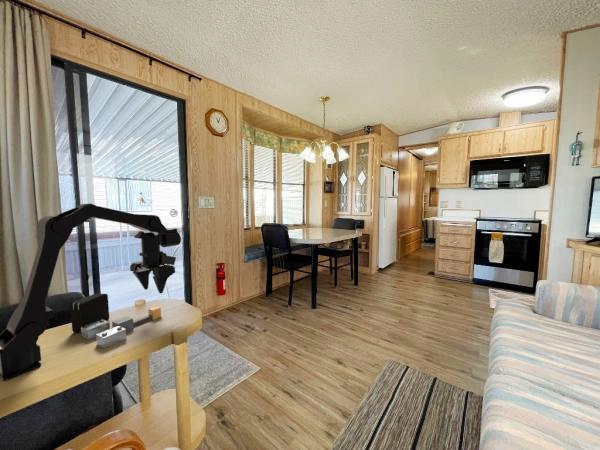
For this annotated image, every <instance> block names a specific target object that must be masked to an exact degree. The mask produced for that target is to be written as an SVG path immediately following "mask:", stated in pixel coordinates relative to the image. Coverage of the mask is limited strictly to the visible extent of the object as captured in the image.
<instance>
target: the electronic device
mask: <svg viewBox="0 0 600 450" xmlns="http://www.w3.org/2000/svg"><path fill="white" fill-rule="evenodd" d="M109 306H110V305H109V295H108V293H94V294H92V295H88V296H85V297H83V298H81V299H80V298H79V299H78V300H75V301H72V302H71V303H70V306H69V308H70V317H71V319H70V320H71V331H72V332H73V333H81V327H82V326H85V325H88V324H91V323H94V322H97V321H99V320H102V319H103V320H106V321H108V322H109V319H110V310H109Z"/></svg>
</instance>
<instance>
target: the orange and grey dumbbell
mask: <svg viewBox="0 0 600 450" xmlns="http://www.w3.org/2000/svg"><path fill="white" fill-rule="evenodd" d="M147 312H148V314H147V315H146V316H143V317H141V318H138V319H136V320H134V318H133V317H130V316H123V317H121V318H118V319H115V320H113V321H111V325H112V326H110V328H109V329H112V328H114V327H117V326H120V327H122V328H124V329H126V332H128V331H131V330H133V329H134V328H135V327H137V326H139V325H143V324H145V323H147V322H149V321H153V320H156V319H159V318H162V308H161V307H160V306H157V305H156V306H152V307H150V308H148V309H147Z"/></svg>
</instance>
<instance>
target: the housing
mask: <svg viewBox="0 0 600 450" xmlns="http://www.w3.org/2000/svg"><path fill="white" fill-rule="evenodd" d="M110 324H111V323H110V321H109V320H108V321H106V320H103V319H102V320H99V321H97V322H94V323H91V324H88V325H85V326H82V327H81V332H80V333H81V337H82V338H84V339H86V340H87V341H89V340H92V339H94V338H96V346H99V347H100V348H101V349H107V348H109V347H111V346H113V345H116V344H118V343H120V342H122V341H123V342H124V341H125V340H127V331H126V329H124V328H122V327H120V326H117V327H114V328H112V329H109V328H110V327H111V325H110Z"/></svg>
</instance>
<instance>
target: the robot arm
mask: <svg viewBox="0 0 600 450" xmlns="http://www.w3.org/2000/svg"><path fill="white" fill-rule="evenodd" d="M91 218H92V219H98V220H103V221H109V222H114V223H119V224H124V225H128V226H131V227H133V228H135V229H137V230H140V231H138V232H137V234H135V235H134V237H133V238H134V239H140V240H141V241H140V242H141V252H139V257H141V259H142V261H137V262H132V263H131V264H130V265H129V269H130V270H129V271H130V272H132V274H133V275H134V276H135V277H136V279H137V280H138V282H139V283H140V284H141V286H142V288H143V289H144V290H148V289H149V283H150V282H149V281H150V280H149V279H150V274H151V273H152V279H153V281H154V283H155V287H156V289H157V292H158V293H159V294H162V293H164V290H165V286H166V284H167V281H168V279H169V278H170V277H171V276H173V275H174V274H176V267H175V263H176V260H177V257H176V256H170V255H167V253H165V252H164V251H163V250H161V248H168V247H175V246H179V245H180V244H181V242H182V237H181V235H180V232H178V229H177V228H174V227H173V228H169V229H167V228H166V227H165V225H164V224H163V223H162V220H161V218H160V217H159V216H158V215H155V214H143V213H142V214H139V213H132V212H126V211H121V210H118V209H113V208H109V207H104V206H99V205H95V204H94V203H82V204H78V206H75V207H74V208H71V209H69V210H66V211H64V212H60V213H58V214H57V215H48V216H47V215H46V216H44V217H42V218H40V219H39V220H38V222H37V225H36V242H37V243H36V244H37V251H36V254H35V257H34V261H33V262H32V263H33V264H32V266H31V271H30V274H29V278H28V281H27V284H26V288H25V290H24V294H23V298H22V301H21V302H20V303H19V305H17V307H16V308H15V310H14V311H13V313H12V315H11V317H10V319H9V320H8V322H7V324H6V328H5V329H4V330H3V331H2V332H1V333H0V348H1V349H0V376H1V377H2V378H3V379H2V378H1V377H0V378H1V379H2V380H3V381H7V380H6V379H8V380H10V379H13V378H15V377H18V376H20V375H22V374H25V373H27V372H29V371H33V370H35V369H36V368H40V367H41V366H42V363H41V361H42V357H41V356H42V354H41V346H40V345H39V344H38V340H39V337H40V336H41V335H43V334H44V332H45V331H46V329H47V327H51V323H50V322H51V321H50V320H51V317H52V315H53V314H54V309H52V308H50V307H48V306H46V301H47V297H48V293H49V291H50V287H51V283H52V279H53V276H54V273H55V268H56V266H57V262H58V257H59V255H60V251H61V249H62V248H63V246H65V244H66V243H67V241H68V240H69V238H70V236H71V234H72V232H73V230H74V229H75V228H77V227H79V226H81V225H82V224H83V223H85V222H87V221H88V220H89V219H91ZM144 231H147V232H144ZM155 233H156V234H155ZM12 377H13V378H12Z"/></svg>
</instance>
